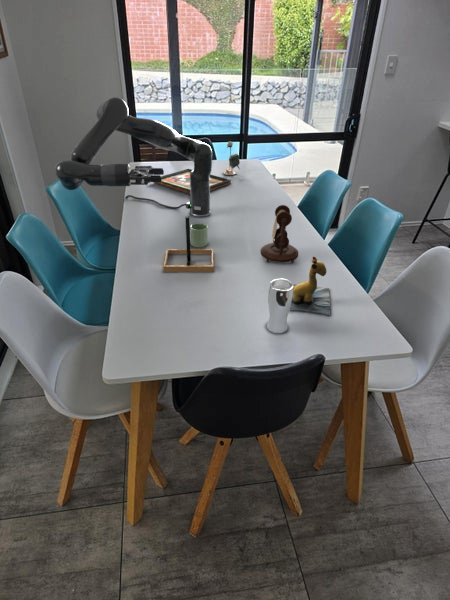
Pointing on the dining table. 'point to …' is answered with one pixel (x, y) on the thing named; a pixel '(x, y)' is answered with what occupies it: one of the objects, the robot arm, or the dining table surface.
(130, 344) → the dining table surface
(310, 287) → the stuffed giraffe
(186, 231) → the black rectangular stick
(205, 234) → the pen cup
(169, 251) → the oak tray
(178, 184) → the religious icon
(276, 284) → the beer glass
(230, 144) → the plant with pod
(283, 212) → the scroll
